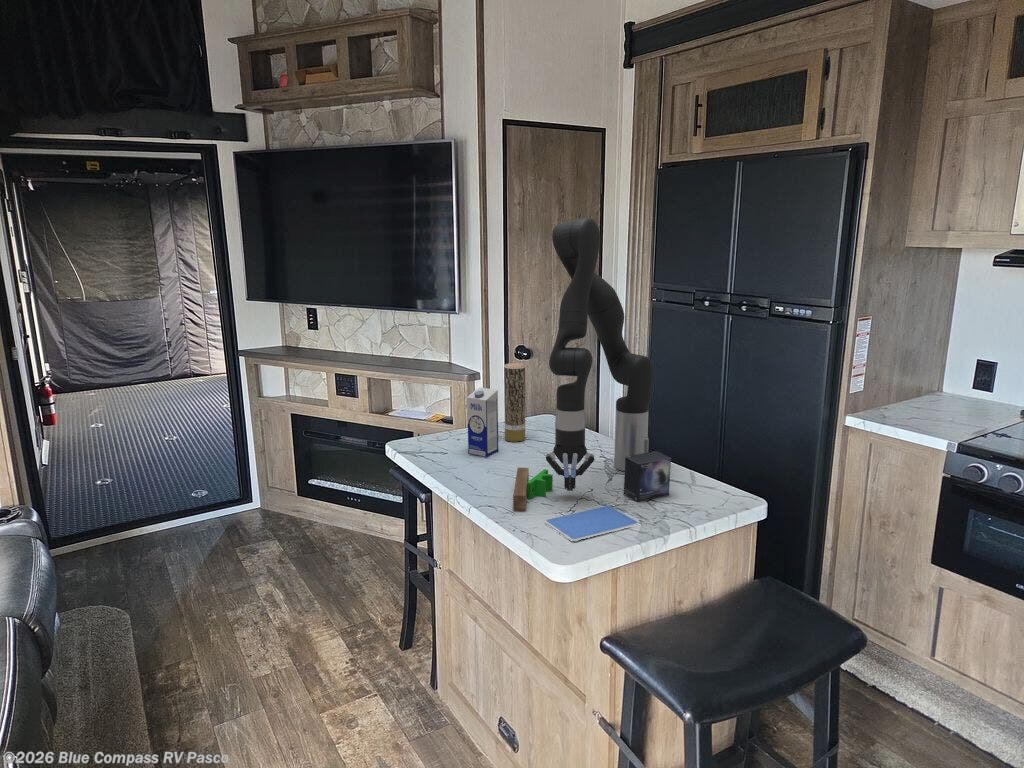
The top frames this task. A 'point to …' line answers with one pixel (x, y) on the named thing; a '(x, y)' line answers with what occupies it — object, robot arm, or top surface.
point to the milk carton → (482, 422)
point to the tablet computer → (590, 523)
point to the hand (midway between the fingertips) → (569, 489)
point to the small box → (647, 476)
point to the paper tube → (514, 401)
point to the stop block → (520, 489)
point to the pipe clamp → (540, 484)
